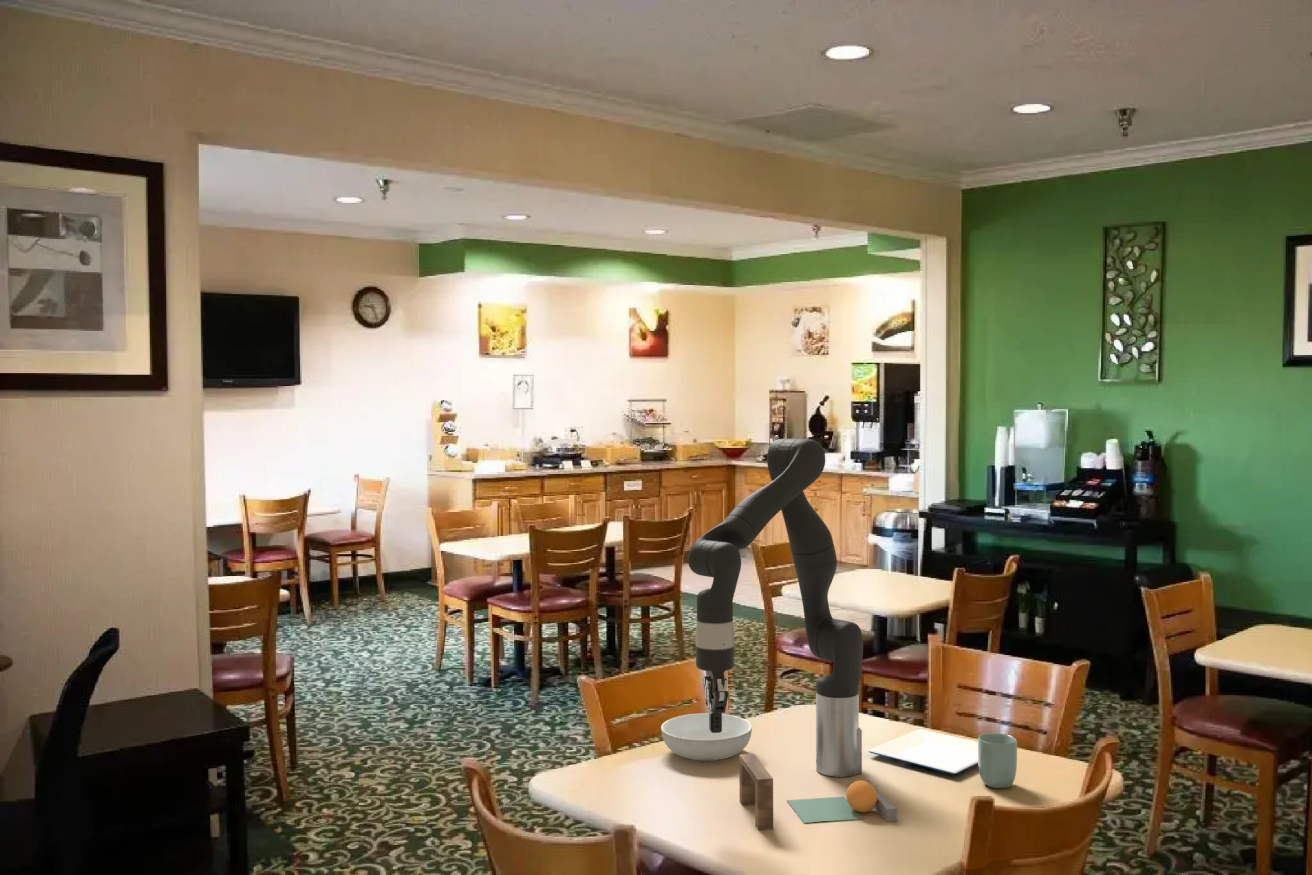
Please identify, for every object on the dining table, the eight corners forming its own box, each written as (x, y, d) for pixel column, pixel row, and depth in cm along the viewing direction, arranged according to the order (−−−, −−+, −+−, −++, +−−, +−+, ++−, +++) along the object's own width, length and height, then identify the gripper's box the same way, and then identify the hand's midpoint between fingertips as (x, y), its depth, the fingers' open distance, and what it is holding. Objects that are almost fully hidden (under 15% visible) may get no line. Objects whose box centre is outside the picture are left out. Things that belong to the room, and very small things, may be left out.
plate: (1005, 756, 253) (1005, 747, 253) (955, 781, 237) (955, 772, 237) (919, 736, 269) (919, 727, 268) (866, 758, 253) (866, 749, 253)
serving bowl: (685, 736, 270) (685, 708, 269) (765, 748, 260) (765, 719, 260) (645, 761, 251) (644, 731, 251) (729, 775, 241) (729, 744, 241)
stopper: (868, 792, 230) (868, 780, 230) (897, 820, 214) (897, 808, 214) (859, 792, 230) (859, 780, 230) (887, 821, 214) (887, 808, 214)
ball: (875, 779, 223) (846, 774, 222) (883, 788, 217) (853, 783, 216) (869, 808, 223) (840, 804, 222) (877, 818, 217) (847, 813, 216)
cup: (972, 779, 237) (972, 733, 237) (1007, 778, 238) (1007, 732, 238) (986, 792, 230) (986, 744, 229) (1022, 791, 230) (1022, 743, 230)
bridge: (753, 800, 226) (753, 753, 226) (773, 828, 211) (773, 778, 211) (739, 801, 225) (739, 754, 225) (758, 829, 211) (757, 779, 210)
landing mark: (843, 797, 227) (843, 796, 227) (863, 819, 216) (863, 818, 216) (786, 801, 225) (786, 800, 225) (804, 823, 214) (804, 822, 214)
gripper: (741, 650, 210) (742, 740, 210) (726, 635, 223) (726, 720, 224) (702, 651, 209) (703, 743, 209) (689, 637, 222) (690, 722, 222)
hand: (715, 731), depth 216 cm, fingers closed
